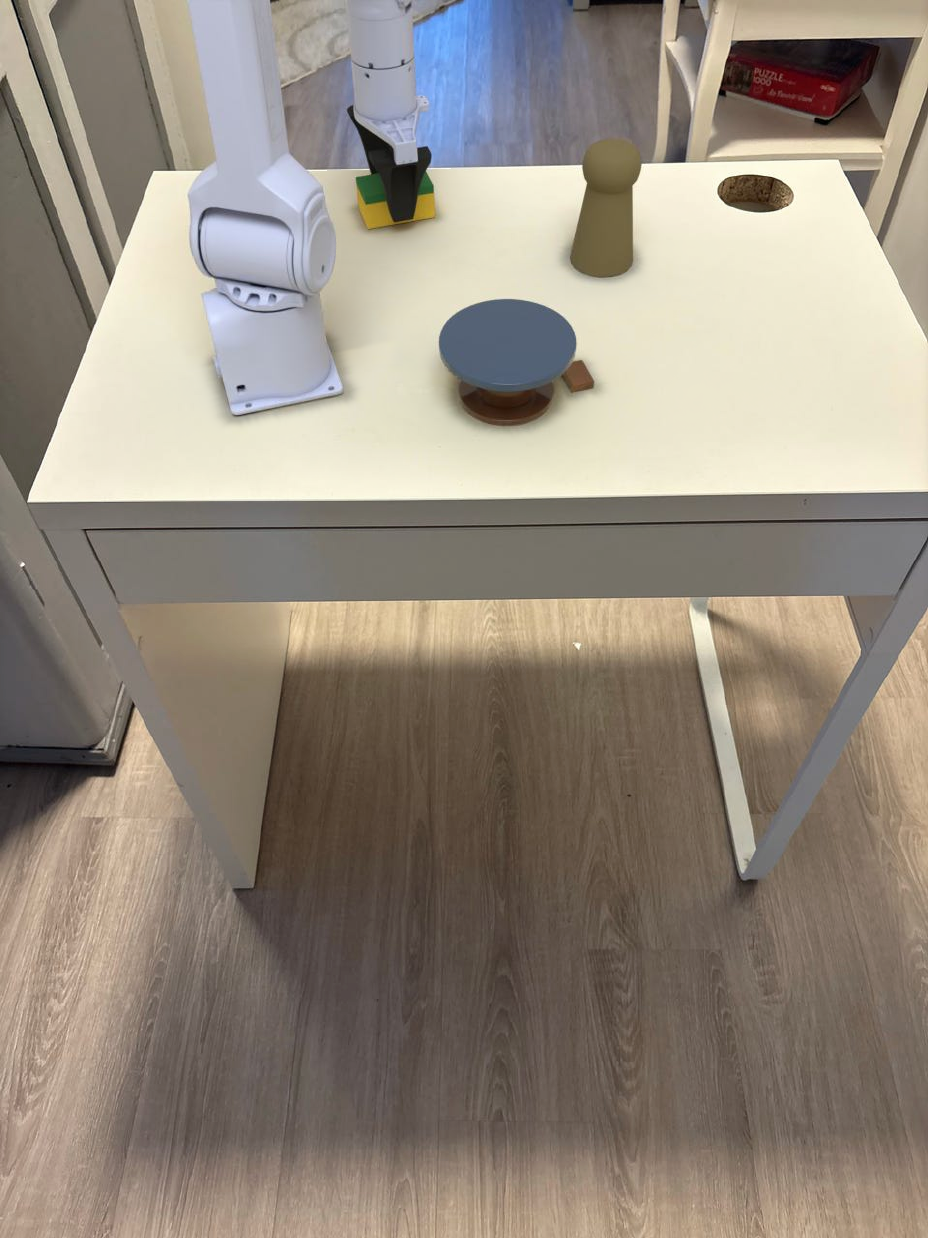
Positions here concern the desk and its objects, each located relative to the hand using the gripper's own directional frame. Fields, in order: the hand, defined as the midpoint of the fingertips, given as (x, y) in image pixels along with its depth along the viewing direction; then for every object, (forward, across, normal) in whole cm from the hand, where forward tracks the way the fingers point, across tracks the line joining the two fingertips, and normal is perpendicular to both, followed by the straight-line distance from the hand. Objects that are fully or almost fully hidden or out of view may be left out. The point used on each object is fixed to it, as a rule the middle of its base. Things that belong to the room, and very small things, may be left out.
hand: (393, 199), depth 99 cm
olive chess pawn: (+2, -14, -17) cm, 22 cm away
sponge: (+2, 0, 0) cm, 2 cm away
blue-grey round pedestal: (+2, -30, -2) cm, 30 cm away
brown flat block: (+1, -30, -8) cm, 31 cm away
